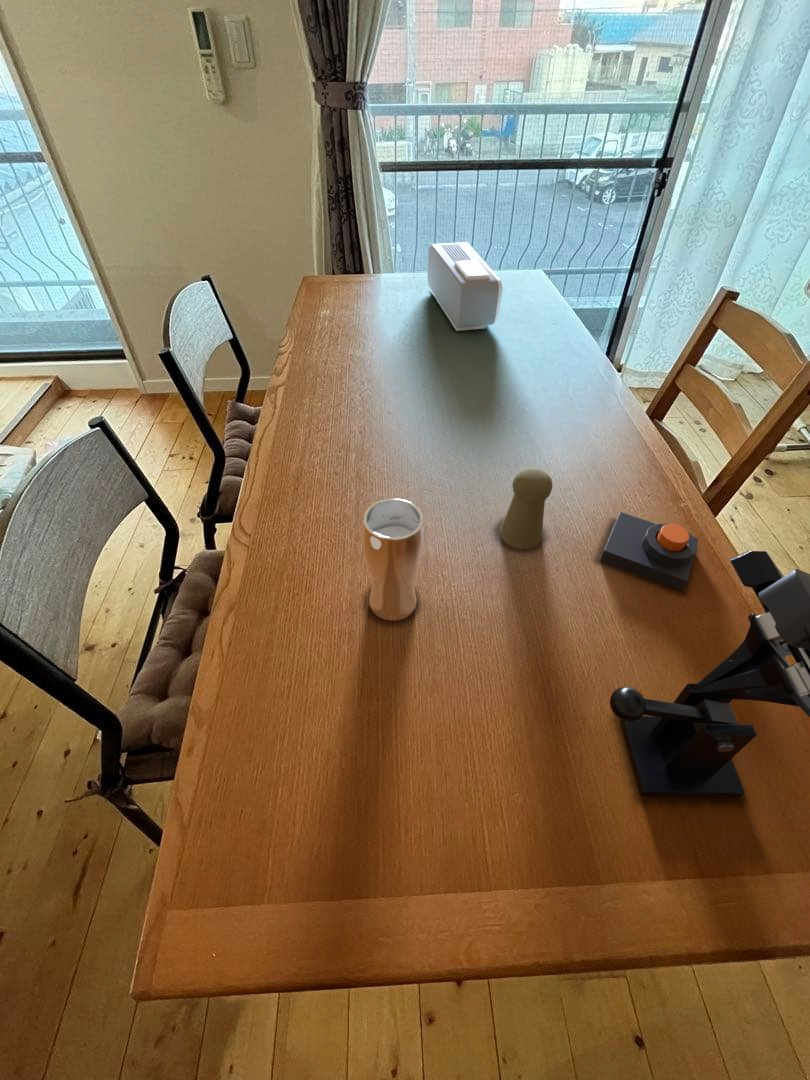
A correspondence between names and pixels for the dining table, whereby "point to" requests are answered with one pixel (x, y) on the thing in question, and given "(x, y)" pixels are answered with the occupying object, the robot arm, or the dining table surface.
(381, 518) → the beer glass
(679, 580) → the button box
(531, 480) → the olive game pawn
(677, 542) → the button
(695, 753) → the switch bracket
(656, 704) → the switch
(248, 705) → the dining table surface
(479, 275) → the alarm clock
